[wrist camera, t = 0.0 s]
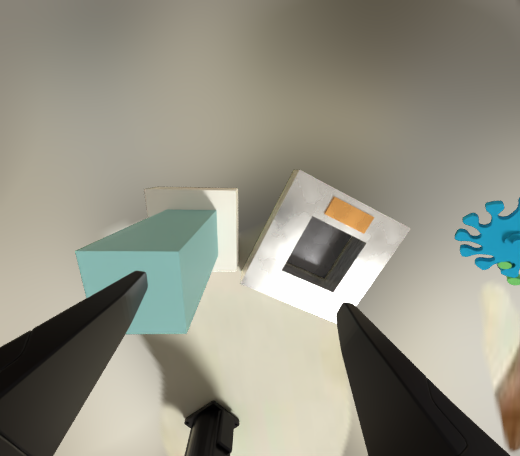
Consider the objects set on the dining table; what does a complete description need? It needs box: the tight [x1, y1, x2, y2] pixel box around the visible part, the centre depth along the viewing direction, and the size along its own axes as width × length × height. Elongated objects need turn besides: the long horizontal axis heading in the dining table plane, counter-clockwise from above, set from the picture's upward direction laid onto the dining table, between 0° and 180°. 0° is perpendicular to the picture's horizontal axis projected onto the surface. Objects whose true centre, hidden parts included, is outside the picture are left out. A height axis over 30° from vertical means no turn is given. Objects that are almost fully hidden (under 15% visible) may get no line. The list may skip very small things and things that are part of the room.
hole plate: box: [240, 170, 411, 323], centre depth 24 cm, size 14×14×3 cm
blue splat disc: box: [455, 198, 520, 285], centre depth 23 cm, size 11×6×10 cm
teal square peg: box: [75, 209, 218, 334], centre depth 16 cm, size 5×5×11 cm
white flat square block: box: [144, 187, 239, 272], centre depth 23 cm, size 9×9×3 cm
